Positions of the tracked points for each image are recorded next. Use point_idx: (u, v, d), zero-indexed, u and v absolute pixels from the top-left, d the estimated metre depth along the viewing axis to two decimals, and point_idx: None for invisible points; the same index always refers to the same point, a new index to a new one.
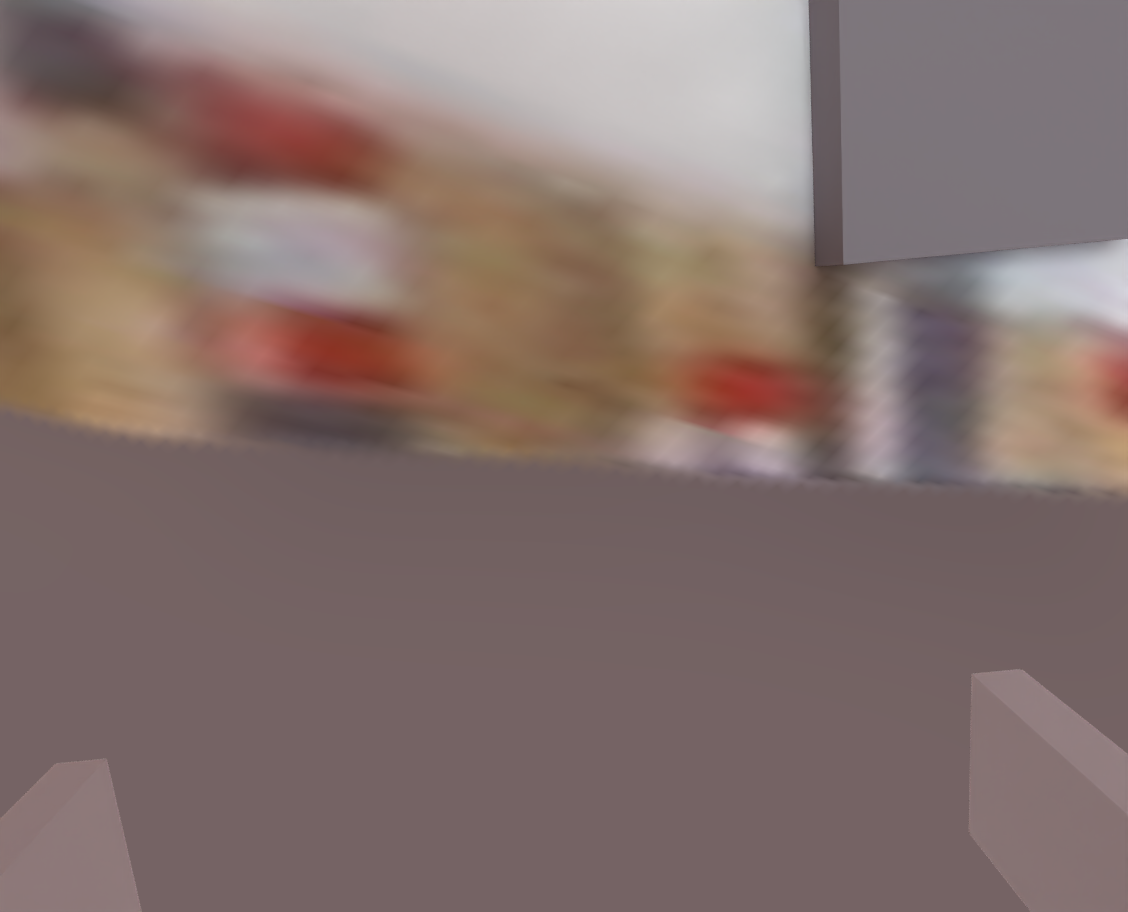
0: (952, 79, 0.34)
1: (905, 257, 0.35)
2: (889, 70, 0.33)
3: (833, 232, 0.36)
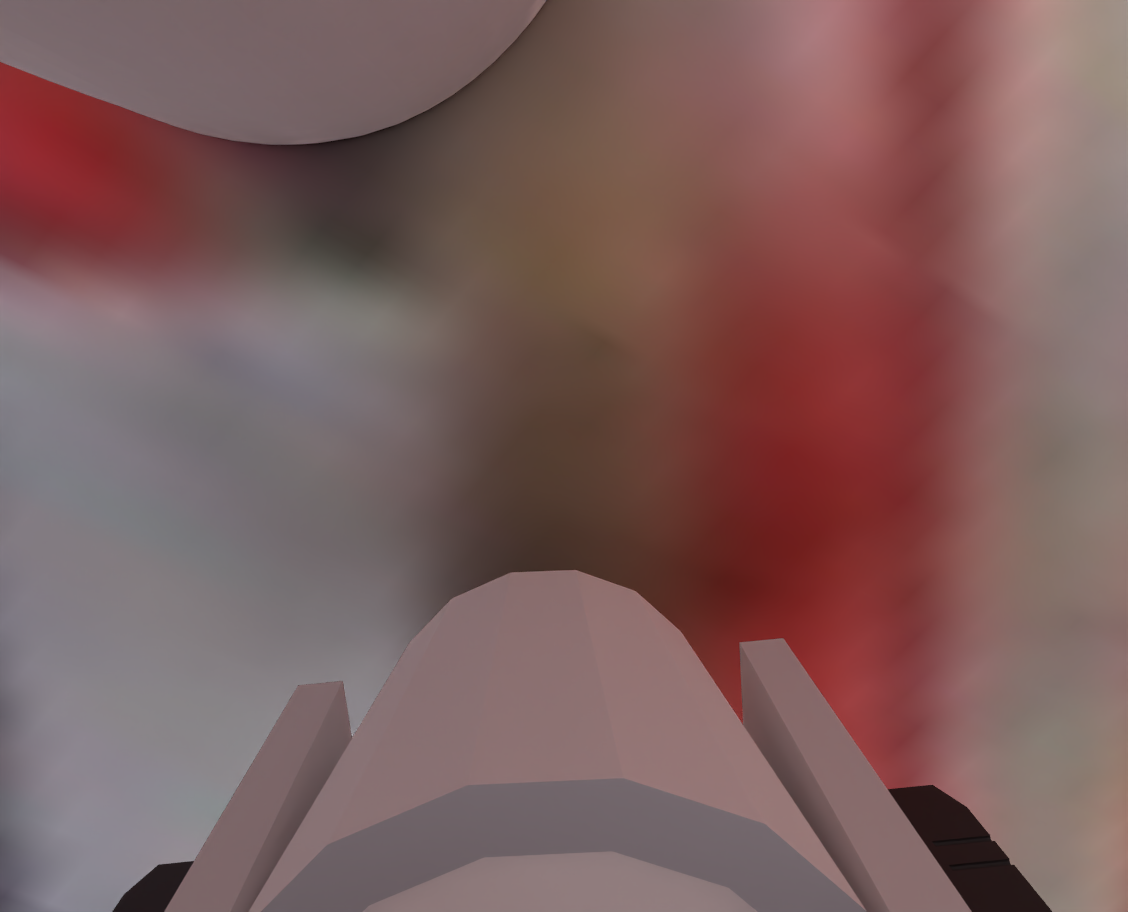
0: None
1: None
2: None
3: None
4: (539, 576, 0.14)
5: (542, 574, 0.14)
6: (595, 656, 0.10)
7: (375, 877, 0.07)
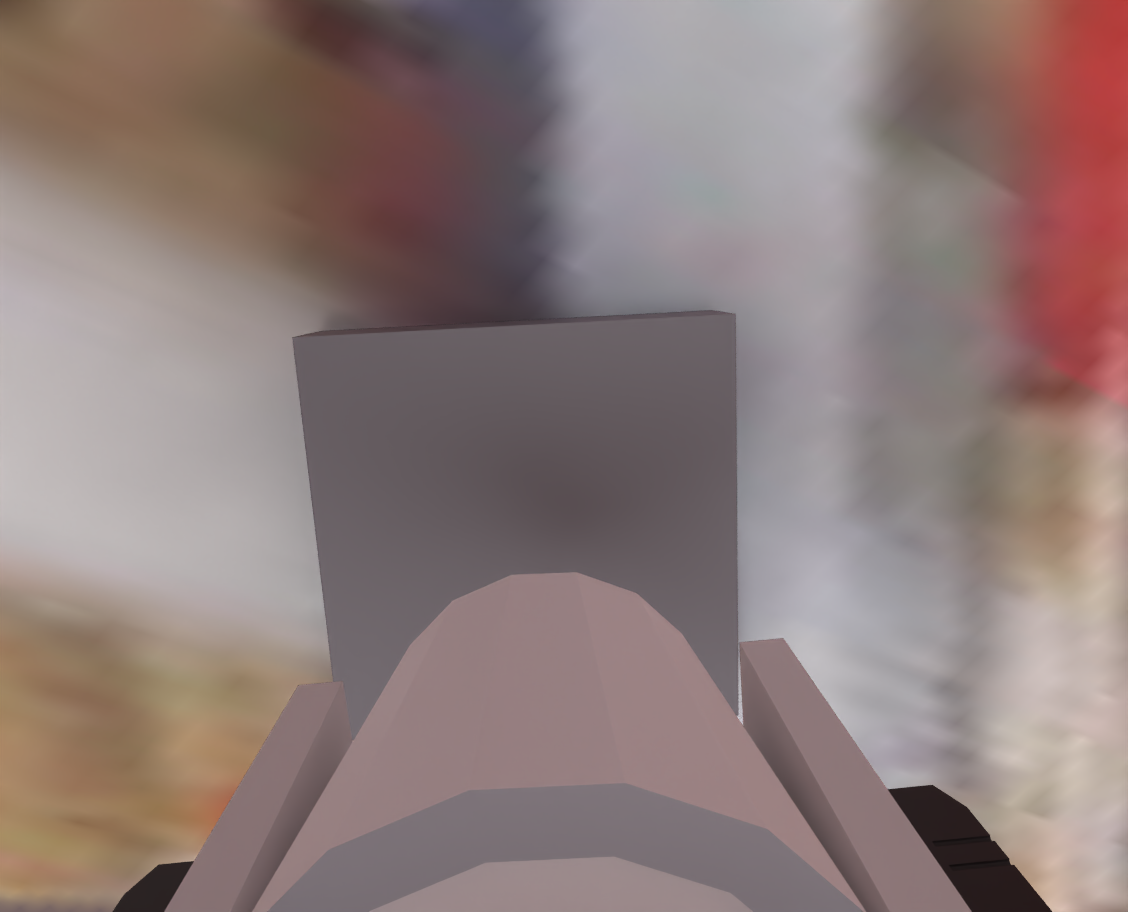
0: (457, 541, 0.27)
1: None
2: (376, 530, 0.27)
3: None
4: (539, 578, 0.14)
5: (543, 576, 0.14)
6: (596, 659, 0.10)
7: (376, 882, 0.07)
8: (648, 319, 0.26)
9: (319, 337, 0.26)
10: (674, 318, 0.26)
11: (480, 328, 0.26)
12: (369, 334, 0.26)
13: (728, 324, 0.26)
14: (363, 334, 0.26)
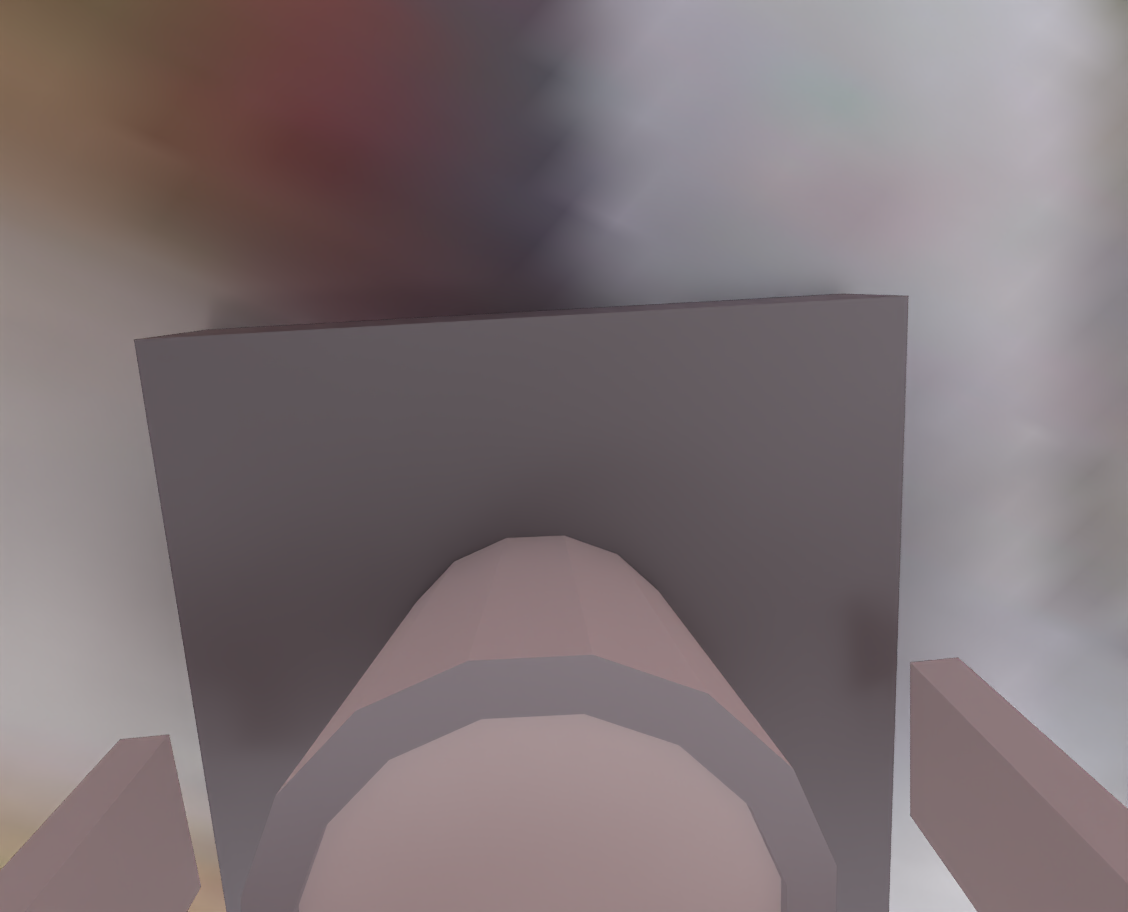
0: None
1: None
2: (291, 664, 0.16)
3: None
4: (531, 539, 0.15)
5: (534, 539, 0.15)
6: (576, 588, 0.12)
7: (394, 737, 0.09)
8: (757, 306, 0.15)
9: (181, 339, 0.15)
10: (802, 304, 0.15)
11: (464, 322, 0.15)
12: (269, 334, 0.15)
13: (895, 314, 0.15)
14: (259, 334, 0.15)
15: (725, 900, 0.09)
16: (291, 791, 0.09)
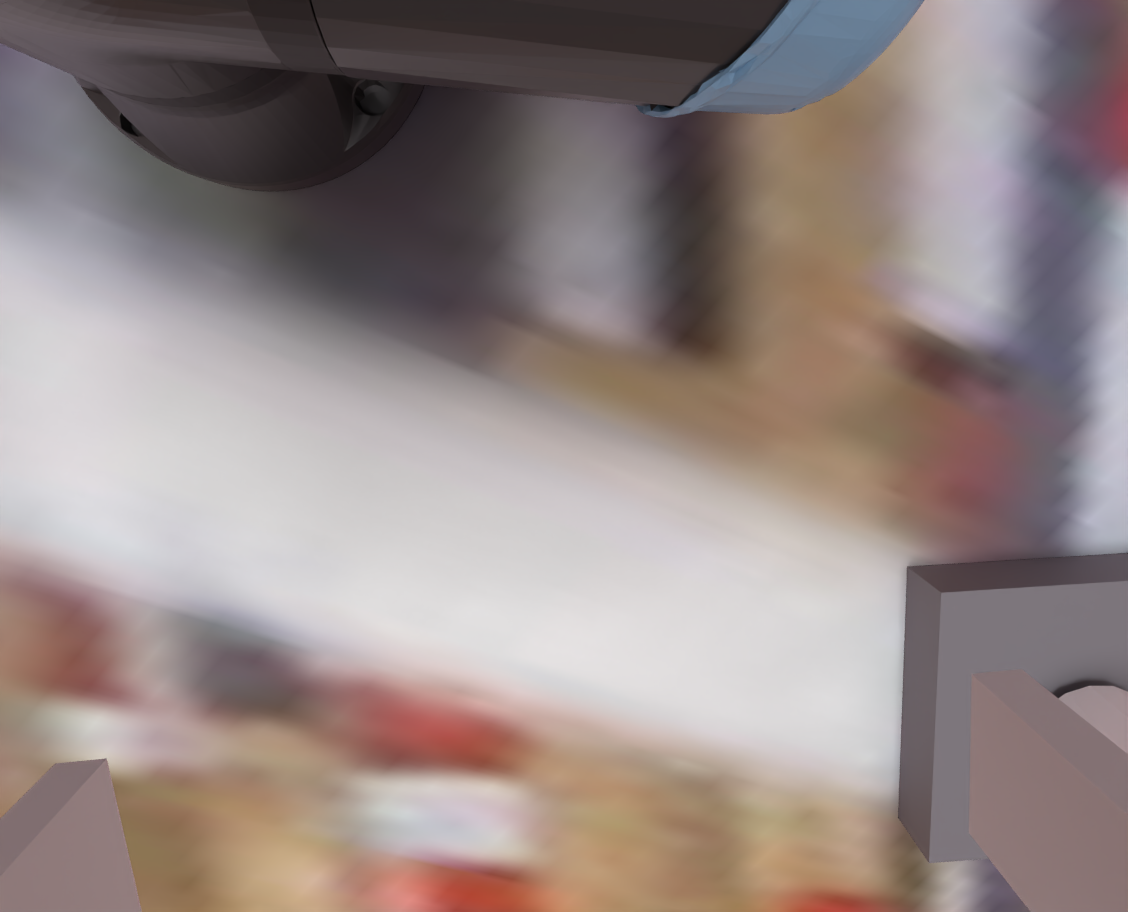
0: None
1: (983, 858, 0.40)
2: None
3: (919, 822, 0.41)
4: (1080, 693, 0.37)
5: (1080, 692, 0.37)
6: None
7: None
8: None
9: (959, 592, 0.37)
10: None
11: (1068, 584, 0.37)
12: (993, 590, 0.37)
13: None
14: (988, 589, 0.37)
15: None
16: None
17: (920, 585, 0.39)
